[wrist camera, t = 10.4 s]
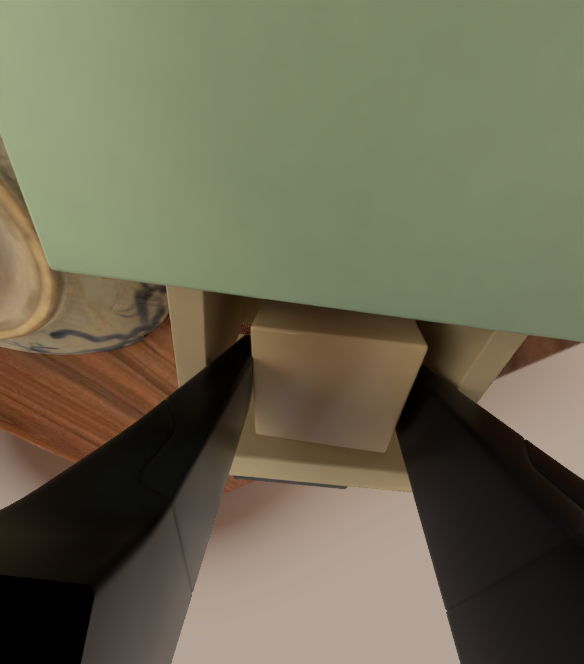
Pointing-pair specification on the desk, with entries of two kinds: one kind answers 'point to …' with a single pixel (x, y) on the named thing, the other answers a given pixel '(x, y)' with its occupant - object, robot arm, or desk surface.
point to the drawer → (313, 458)
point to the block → (332, 373)
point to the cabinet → (310, 150)
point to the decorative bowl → (63, 292)
